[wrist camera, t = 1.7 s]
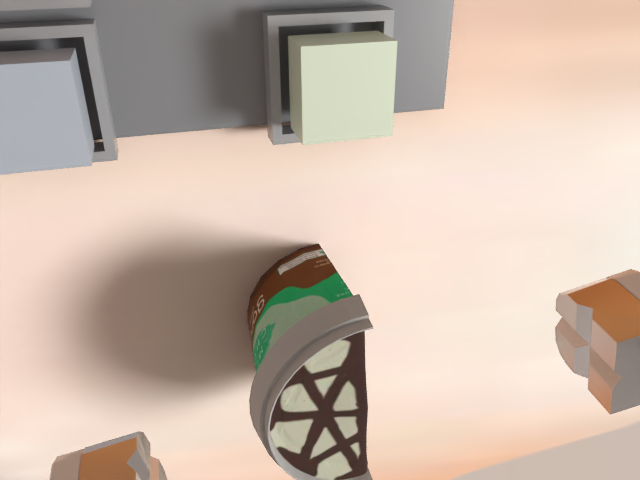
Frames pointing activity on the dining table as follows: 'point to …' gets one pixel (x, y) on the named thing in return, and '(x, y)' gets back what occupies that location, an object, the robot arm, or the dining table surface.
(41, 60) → the slate key
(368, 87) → the sage key
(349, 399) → the food container
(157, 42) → the keypad base
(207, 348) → the dining table surface
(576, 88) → the dining table surface
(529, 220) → the dining table surface
